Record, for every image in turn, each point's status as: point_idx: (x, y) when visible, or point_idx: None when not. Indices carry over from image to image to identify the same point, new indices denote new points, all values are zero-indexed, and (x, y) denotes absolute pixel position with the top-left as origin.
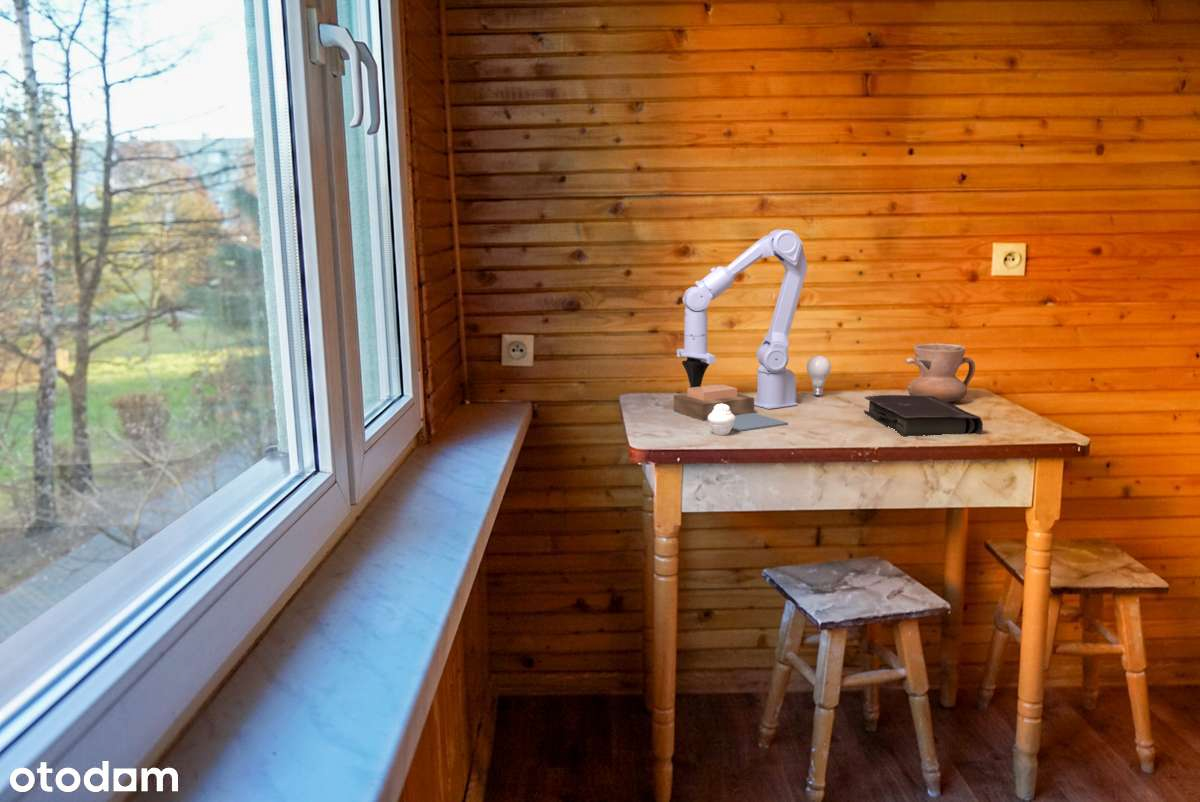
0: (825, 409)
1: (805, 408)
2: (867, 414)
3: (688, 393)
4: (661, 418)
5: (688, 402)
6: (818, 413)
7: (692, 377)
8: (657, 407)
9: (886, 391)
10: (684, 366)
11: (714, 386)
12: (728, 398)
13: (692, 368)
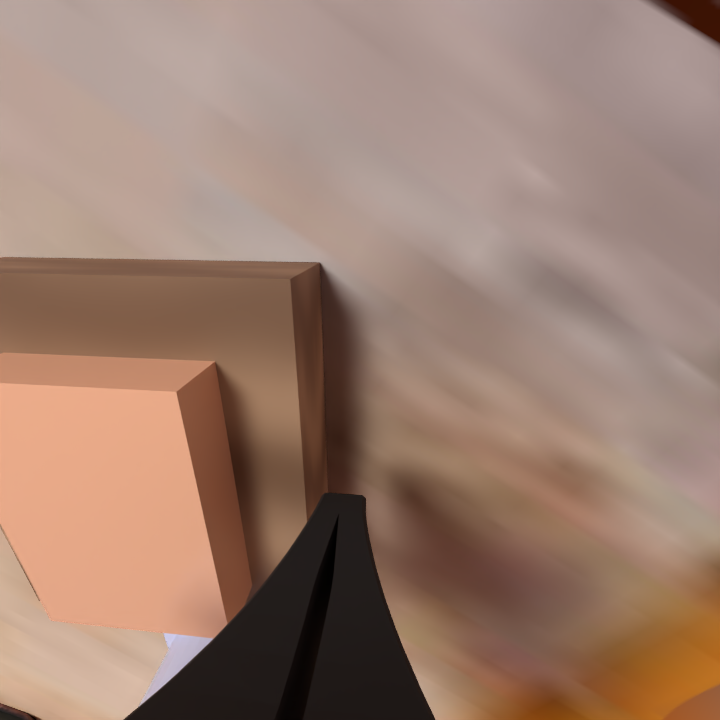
0: (110, 695)
1: (143, 675)
2: (5, 709)
3: (189, 369)
4: (139, 30)
5: (77, 270)
6: (59, 656)
7: (282, 569)
8: (488, 237)
9: None
10: (404, 713)
11: (165, 574)
12: None
13: (172, 684)
